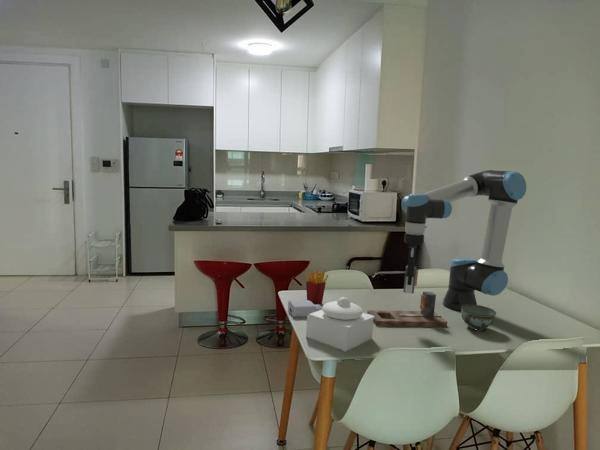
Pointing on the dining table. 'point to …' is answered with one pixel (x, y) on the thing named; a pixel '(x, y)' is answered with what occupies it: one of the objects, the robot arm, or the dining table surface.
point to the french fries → (315, 287)
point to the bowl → (477, 316)
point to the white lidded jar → (340, 325)
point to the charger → (302, 308)
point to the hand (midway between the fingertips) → (408, 290)
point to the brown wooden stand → (411, 315)
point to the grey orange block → (413, 279)
